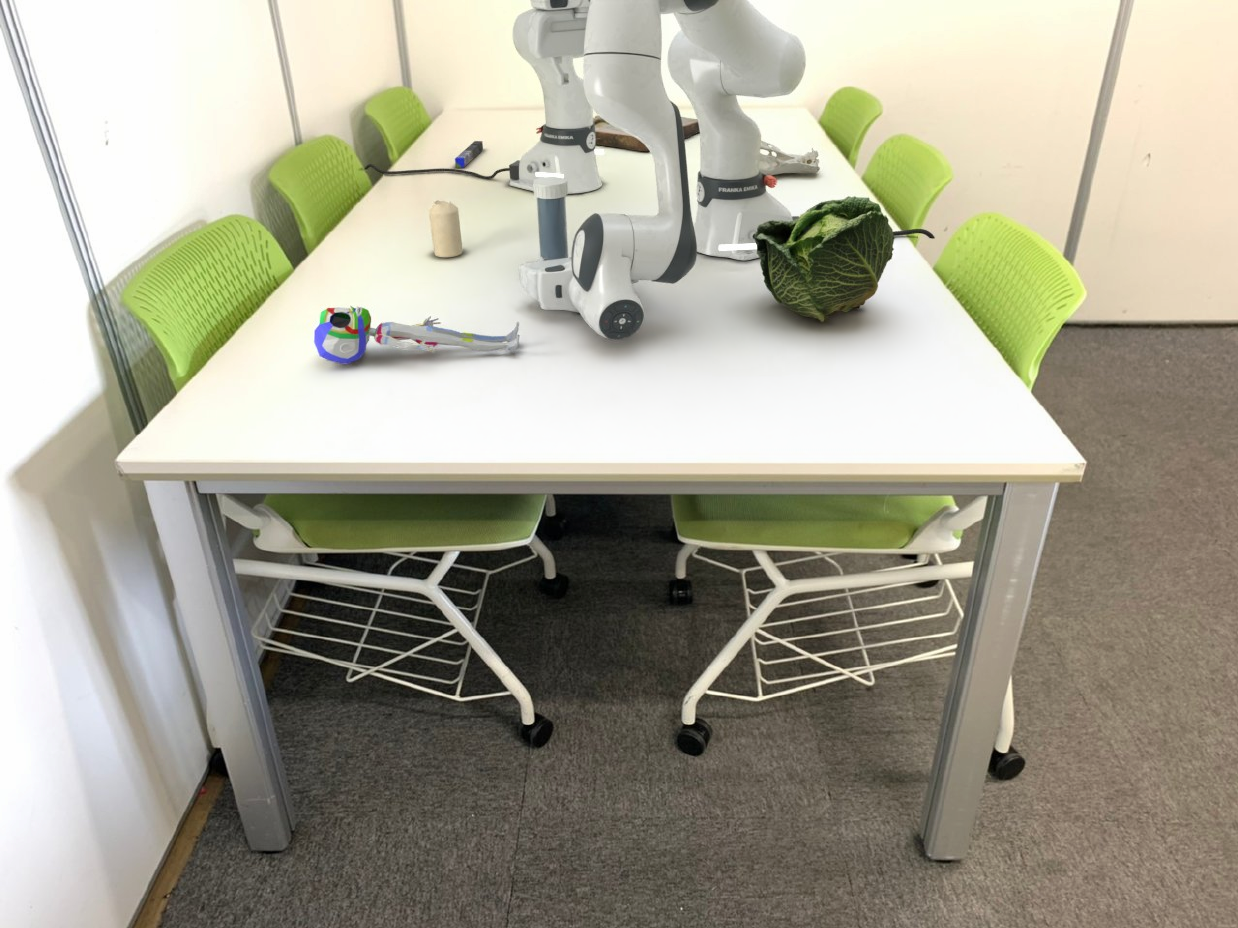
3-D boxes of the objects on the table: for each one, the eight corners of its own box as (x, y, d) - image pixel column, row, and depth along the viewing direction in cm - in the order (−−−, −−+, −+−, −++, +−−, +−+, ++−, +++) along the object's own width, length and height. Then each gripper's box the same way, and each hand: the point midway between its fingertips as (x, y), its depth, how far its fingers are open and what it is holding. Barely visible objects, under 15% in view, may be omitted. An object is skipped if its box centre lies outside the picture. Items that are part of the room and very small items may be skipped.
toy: (520, 333, 130) (306, 316, 126) (516, 385, 135) (309, 370, 130) (519, 307, 139) (319, 289, 134) (515, 356, 143) (321, 341, 139)
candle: (467, 249, 176) (462, 199, 171) (454, 259, 172) (448, 207, 167) (442, 247, 178) (436, 196, 172) (429, 256, 173) (422, 204, 168)
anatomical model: (720, 129, 225) (821, 128, 221) (719, 166, 230) (818, 165, 226) (716, 143, 213) (823, 142, 209) (716, 182, 218) (820, 182, 214)
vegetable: (781, 336, 156) (729, 236, 148) (870, 275, 157) (823, 172, 149) (838, 357, 138) (781, 244, 130) (938, 287, 139) (888, 171, 131)
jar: (547, 261, 170) (542, 178, 162) (572, 264, 169) (569, 180, 161) (536, 270, 166) (531, 186, 158) (562, 273, 165) (558, 188, 157)
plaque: (647, 125, 237) (559, 112, 252) (647, 153, 241) (560, 139, 256) (706, 107, 258) (622, 97, 273) (705, 133, 262) (622, 121, 277)
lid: (541, 188, 164) (541, 175, 162) (572, 191, 162) (572, 177, 161) (528, 197, 159) (527, 184, 158) (560, 200, 157) (559, 186, 156)
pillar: (482, 141, 246) (462, 159, 229) (483, 149, 247) (463, 167, 230) (474, 141, 246) (454, 159, 230) (475, 149, 247) (455, 167, 231)
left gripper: (629, -10, 158) (632, 74, 166) (521, -3, 151) (528, 85, 158) (646, -9, 153) (647, 78, 161) (534, -1, 146) (541, 89, 153)
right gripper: (651, 257, 146) (624, 232, 158) (529, 273, 141) (510, 246, 152) (651, 294, 150) (625, 267, 161) (532, 311, 145) (513, 281, 156)
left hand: (587, 82), depth 159 cm, fingers open, 8 cm apart
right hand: (568, 257), depth 157 cm, fingers open, 8 cm apart
